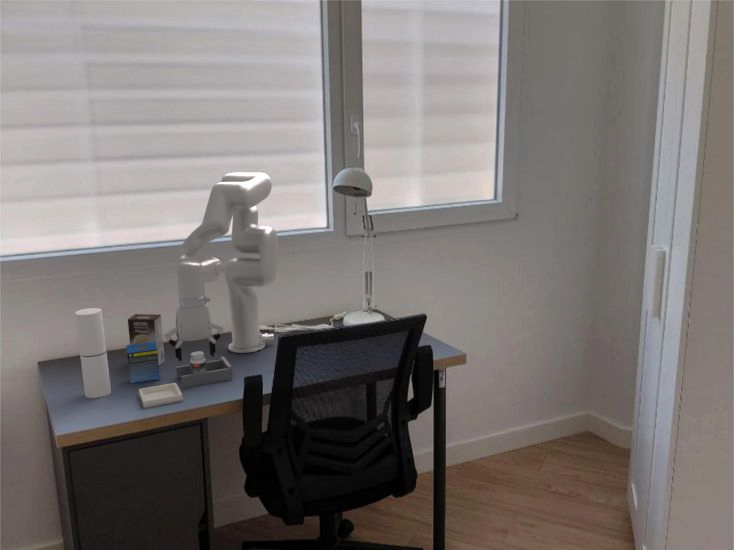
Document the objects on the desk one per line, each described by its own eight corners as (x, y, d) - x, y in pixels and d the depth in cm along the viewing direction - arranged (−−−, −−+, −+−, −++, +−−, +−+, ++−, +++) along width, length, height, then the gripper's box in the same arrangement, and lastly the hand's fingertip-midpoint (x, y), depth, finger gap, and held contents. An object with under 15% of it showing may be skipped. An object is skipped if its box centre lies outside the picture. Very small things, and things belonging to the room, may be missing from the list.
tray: (176, 388, 211) (175, 382, 210) (182, 401, 201) (182, 394, 201) (139, 395, 206) (138, 389, 206) (144, 408, 197) (143, 401, 197)
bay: (224, 369, 226) (223, 356, 225) (232, 379, 217) (231, 366, 216) (176, 377, 220) (175, 364, 219) (182, 388, 211) (181, 374, 210)
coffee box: (131, 366, 231) (125, 319, 228) (139, 360, 237) (134, 313, 234) (158, 367, 230) (153, 319, 227) (165, 360, 236) (161, 313, 233)
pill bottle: (193, 383, 215) (191, 357, 213) (189, 378, 219) (187, 352, 217) (209, 380, 217) (206, 354, 215) (205, 375, 221) (202, 349, 219)
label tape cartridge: (159, 375, 222) (156, 337, 220) (160, 379, 219) (156, 341, 216) (130, 379, 220) (125, 341, 217) (130, 384, 216) (125, 345, 213)
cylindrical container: (95, 399, 204) (85, 315, 199) (79, 395, 208) (69, 312, 203) (116, 391, 210) (106, 309, 205) (100, 387, 214) (90, 306, 208)
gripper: (218, 297, 219) (221, 350, 222) (160, 303, 212) (164, 358, 215) (223, 301, 212) (227, 356, 216) (164, 308, 205) (168, 365, 209)
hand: (196, 357), depth 216 cm, fingers open, 9 cm apart
